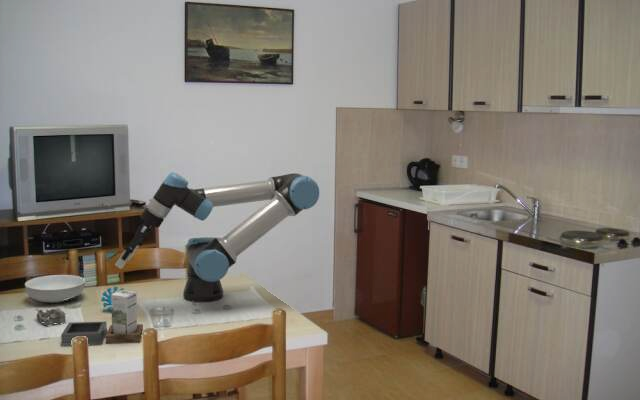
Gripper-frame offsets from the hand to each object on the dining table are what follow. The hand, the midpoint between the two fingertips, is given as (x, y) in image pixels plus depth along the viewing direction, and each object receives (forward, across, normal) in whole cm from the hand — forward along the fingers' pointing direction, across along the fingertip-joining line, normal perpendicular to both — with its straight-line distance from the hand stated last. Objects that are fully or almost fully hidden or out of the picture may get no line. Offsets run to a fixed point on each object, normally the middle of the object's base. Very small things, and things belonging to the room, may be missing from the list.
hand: (121, 262), depth 232 cm
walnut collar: (+12, +28, +15) cm, 33 cm away
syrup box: (+12, +28, +15) cm, 34 cm away
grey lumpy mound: (+27, +10, -8) cm, 30 cm away
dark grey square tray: (+18, +28, +5) cm, 34 cm away
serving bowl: (+29, -15, -13) cm, 35 cm away
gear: (+16, -2, +8) cm, 18 cm away
